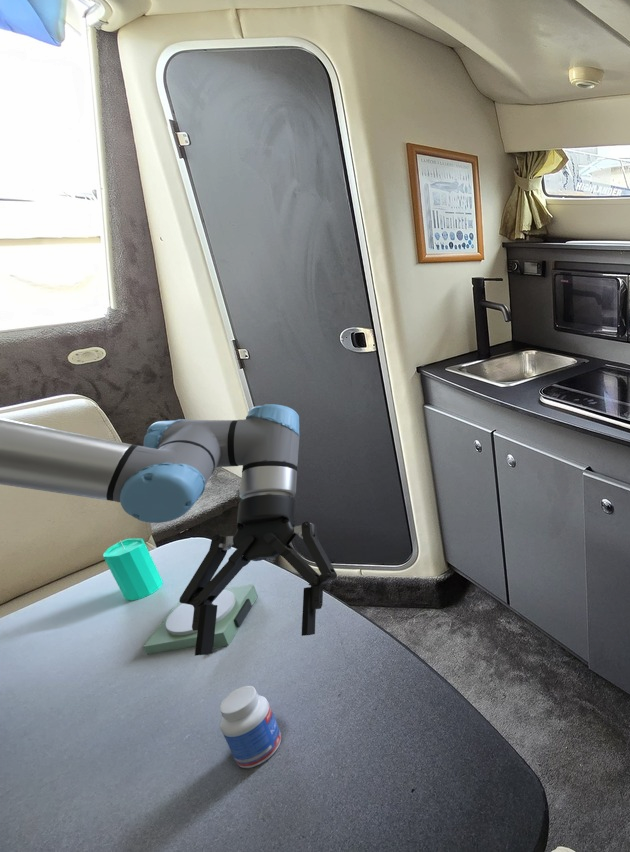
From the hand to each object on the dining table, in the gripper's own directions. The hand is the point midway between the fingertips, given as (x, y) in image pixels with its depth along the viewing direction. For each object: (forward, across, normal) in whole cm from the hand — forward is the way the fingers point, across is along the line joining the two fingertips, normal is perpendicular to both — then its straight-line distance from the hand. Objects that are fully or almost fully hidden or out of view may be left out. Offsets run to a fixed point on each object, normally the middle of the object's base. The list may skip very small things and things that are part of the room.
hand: (256, 644), depth 70 cm
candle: (-16, +37, -32) cm, 52 cm away
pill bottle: (+14, 0, -4) cm, 14 cm away
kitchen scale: (-6, +19, -22) cm, 30 cm away
